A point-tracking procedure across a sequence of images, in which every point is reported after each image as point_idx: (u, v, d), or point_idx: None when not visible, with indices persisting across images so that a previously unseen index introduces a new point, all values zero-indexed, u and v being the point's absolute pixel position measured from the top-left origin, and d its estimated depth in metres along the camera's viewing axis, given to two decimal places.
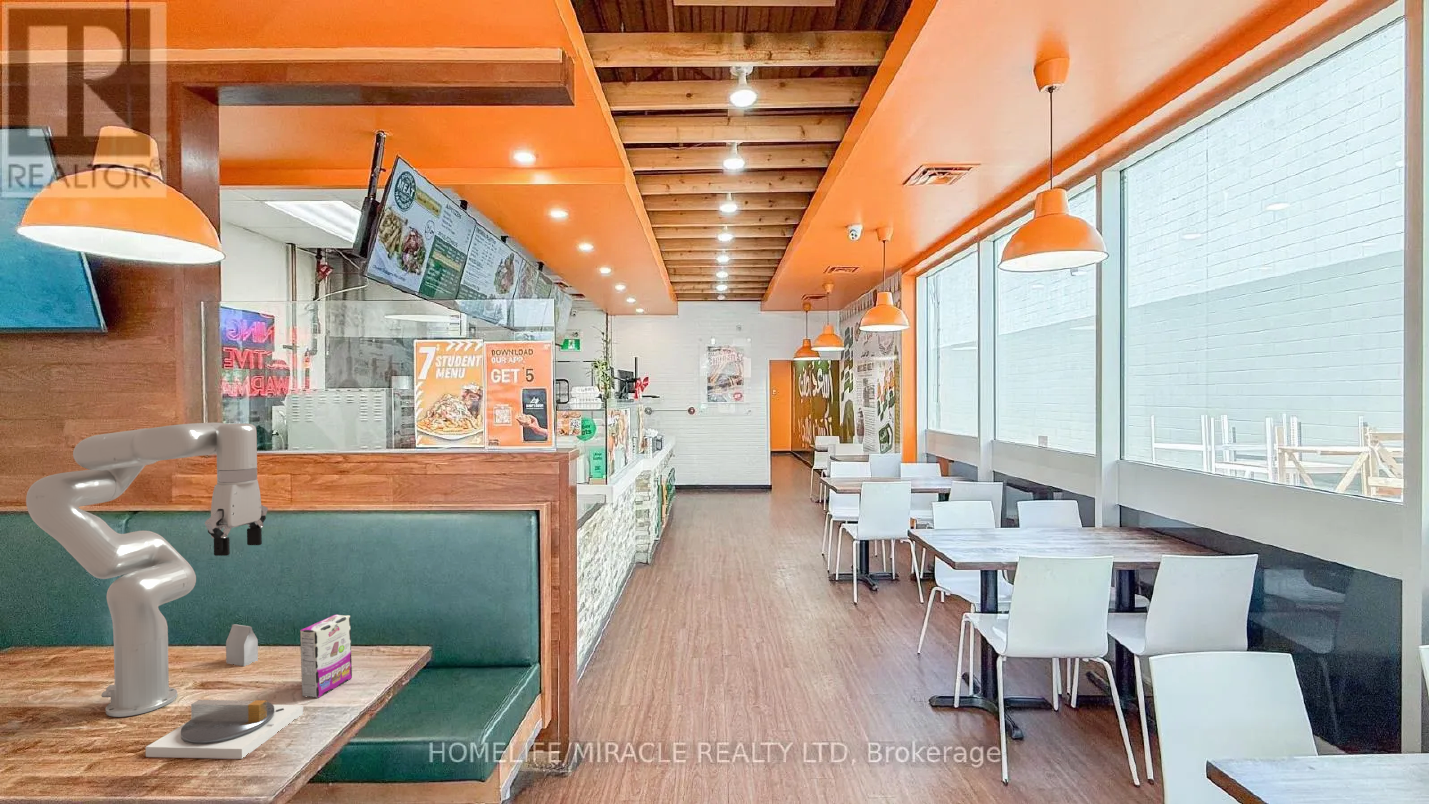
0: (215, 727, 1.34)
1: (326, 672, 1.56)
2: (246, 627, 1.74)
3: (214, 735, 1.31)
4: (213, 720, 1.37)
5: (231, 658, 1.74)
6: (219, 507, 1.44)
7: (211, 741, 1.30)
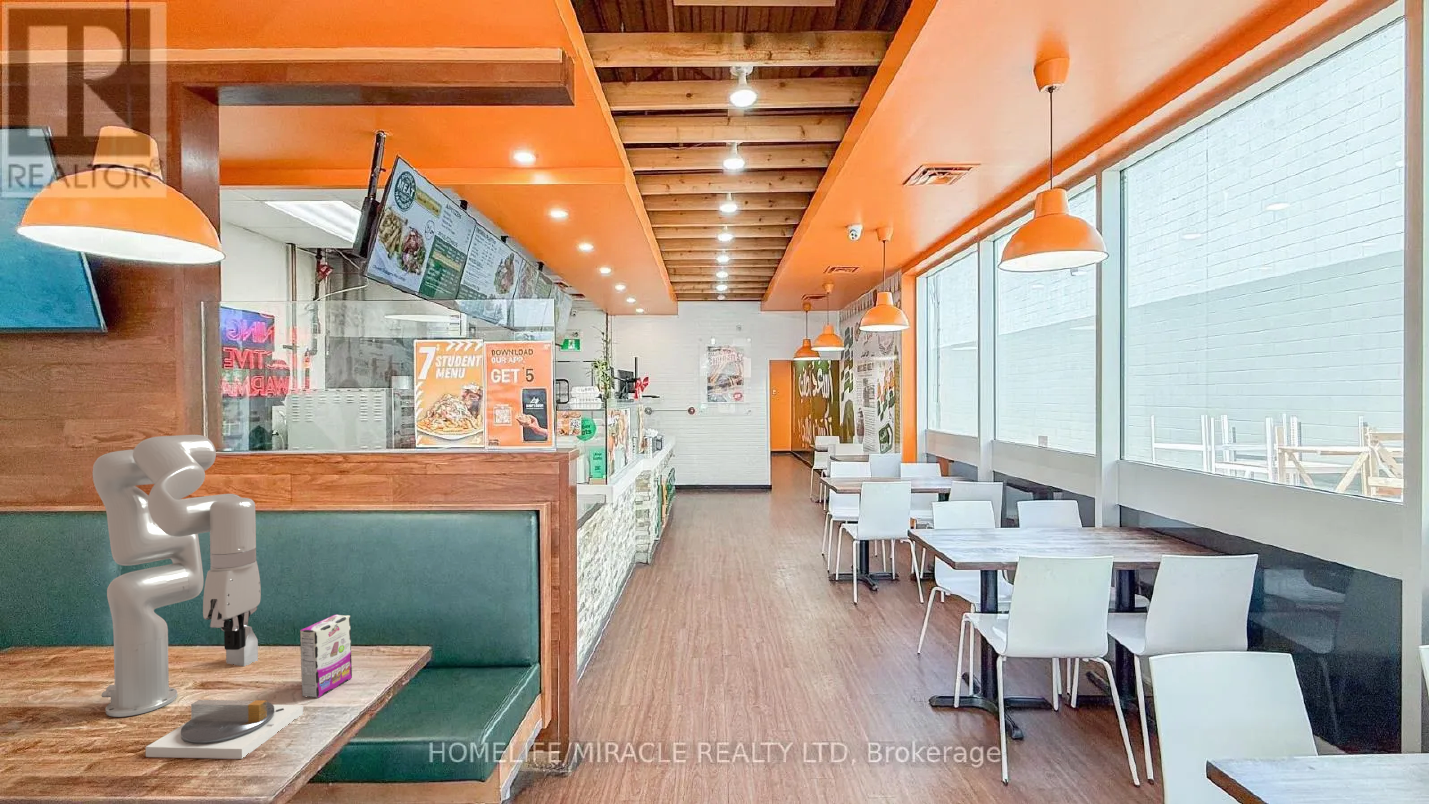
0: (215, 727, 1.34)
1: (326, 672, 1.56)
2: (246, 627, 1.74)
3: (214, 735, 1.31)
4: (213, 720, 1.37)
5: (231, 658, 1.74)
6: (213, 597, 1.27)
7: (211, 741, 1.30)
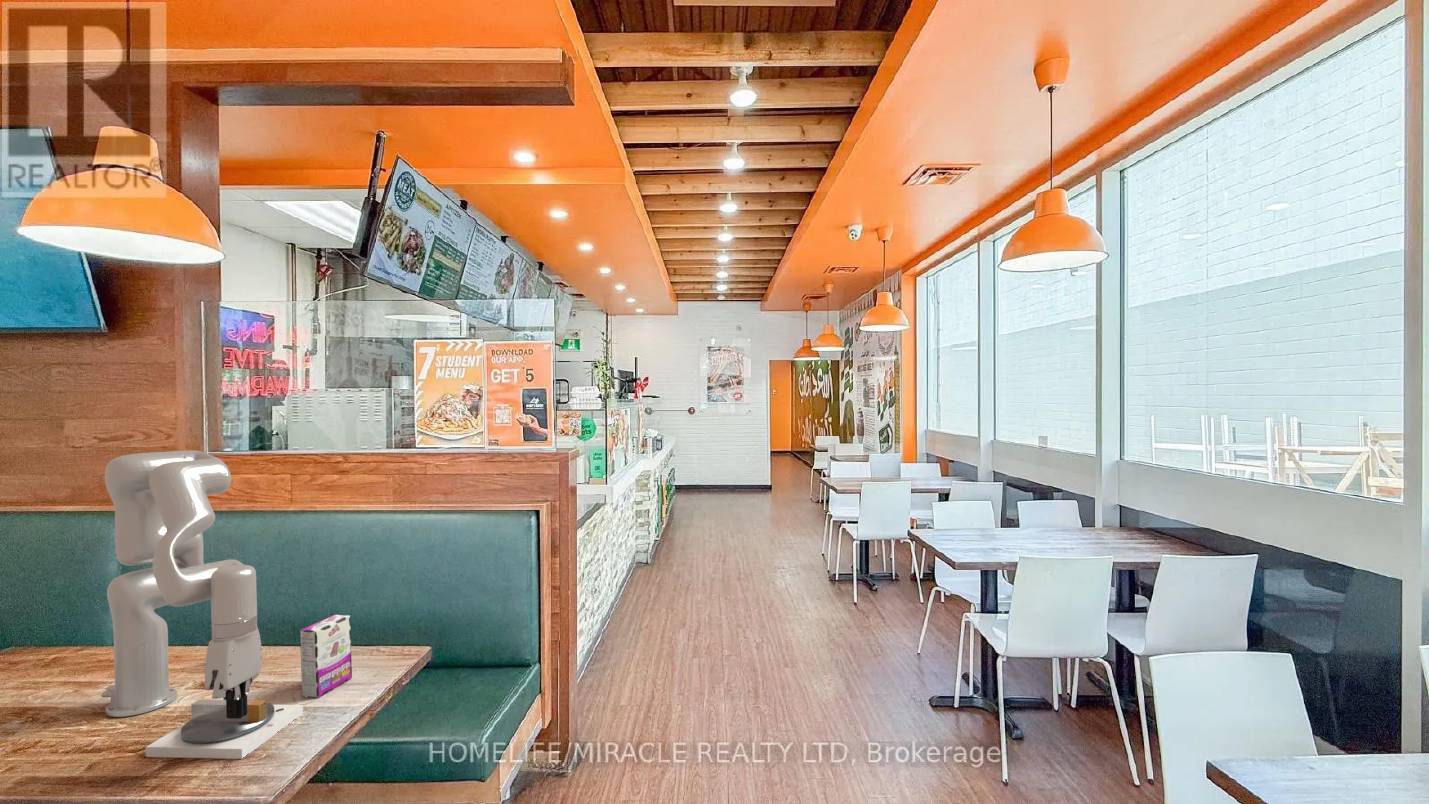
0: (215, 727, 1.34)
1: (326, 672, 1.56)
2: None
3: (214, 735, 1.31)
4: (213, 720, 1.37)
5: None
6: (214, 668, 1.27)
7: (211, 741, 1.30)
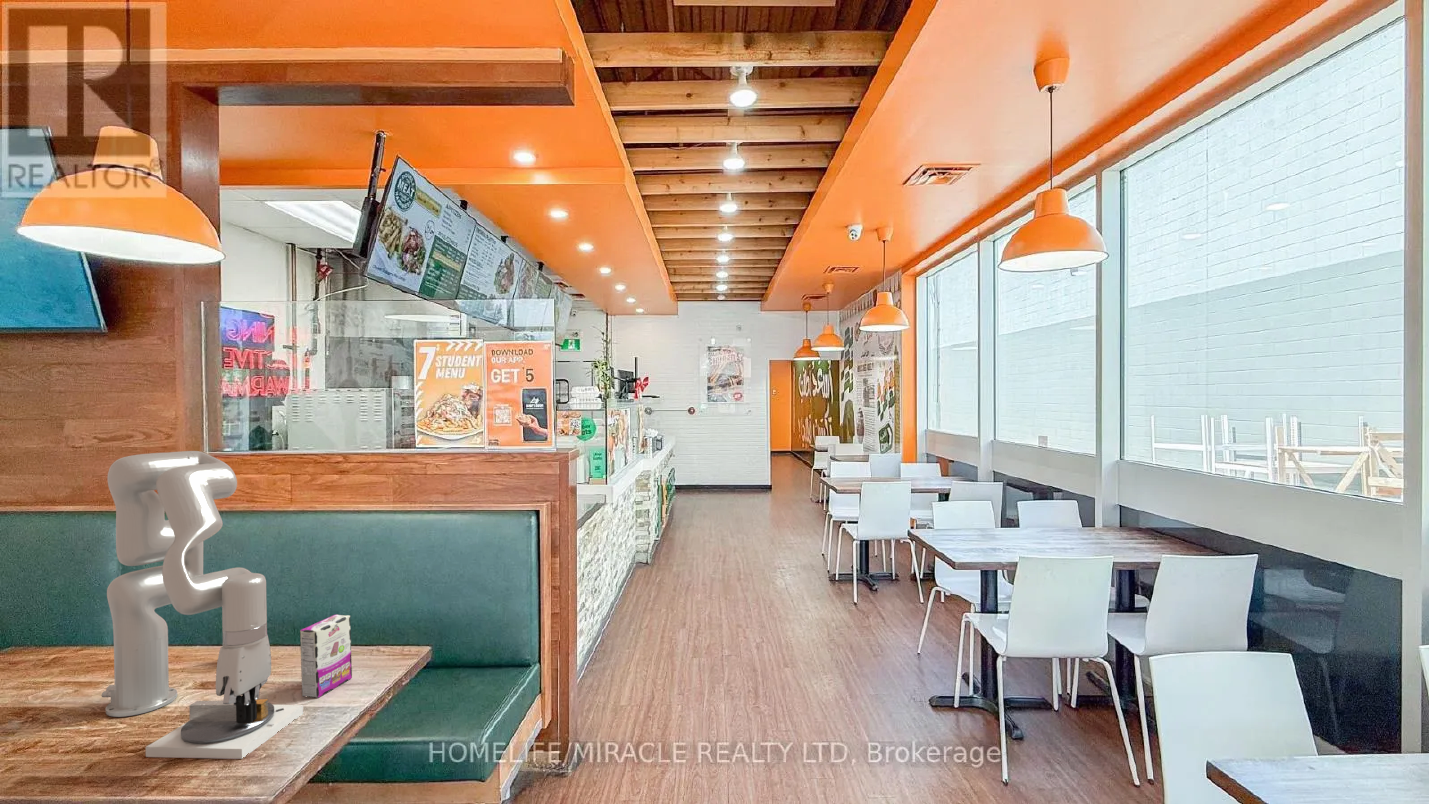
0: (216, 727, 1.34)
1: (326, 672, 1.56)
2: None
3: (217, 734, 1.31)
4: (213, 720, 1.37)
5: None
6: (225, 674, 1.30)
7: (214, 741, 1.30)
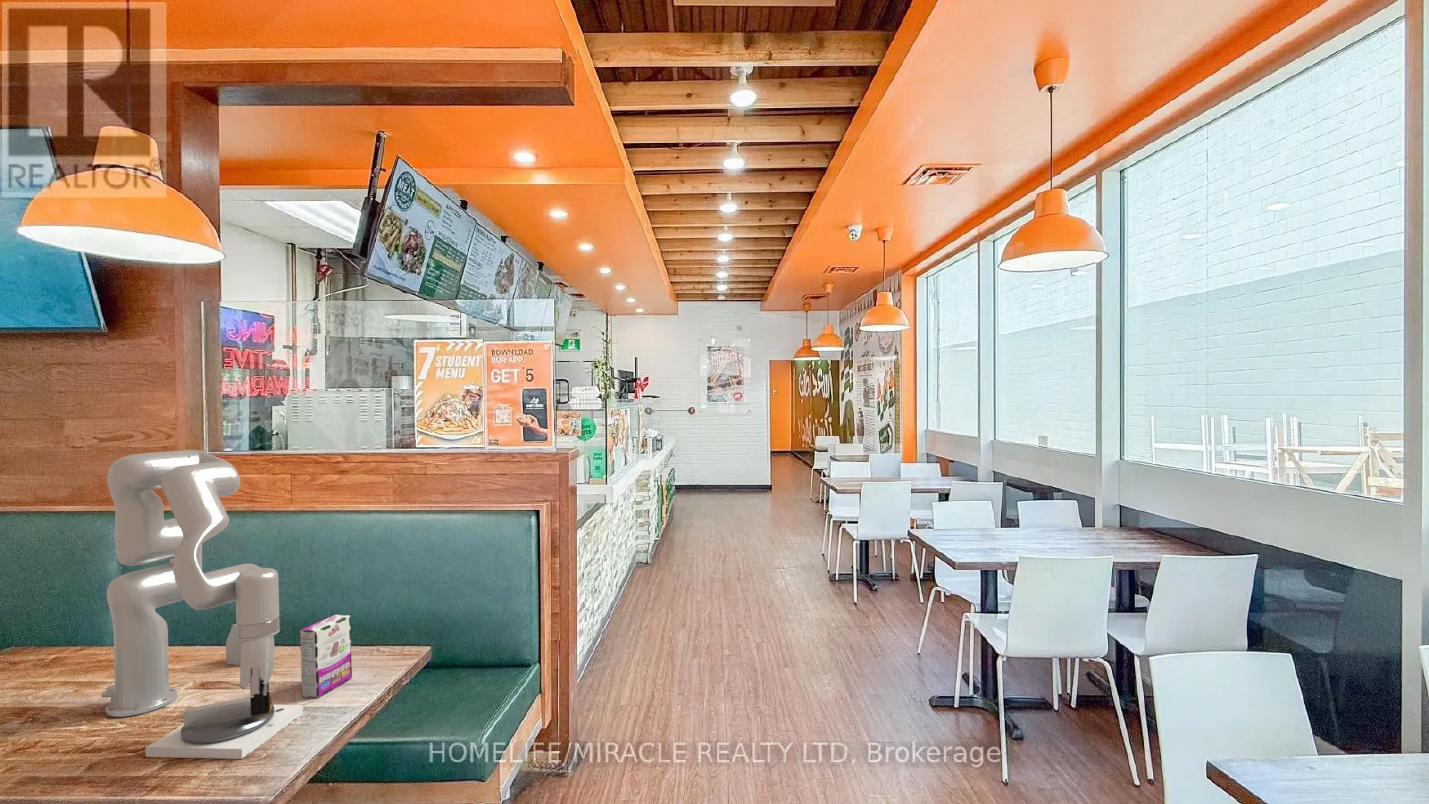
0: (225, 726, 1.35)
1: (326, 672, 1.56)
2: None
3: (235, 730, 1.33)
4: (212, 723, 1.36)
5: (231, 658, 1.74)
6: (253, 666, 1.33)
7: (236, 736, 1.32)
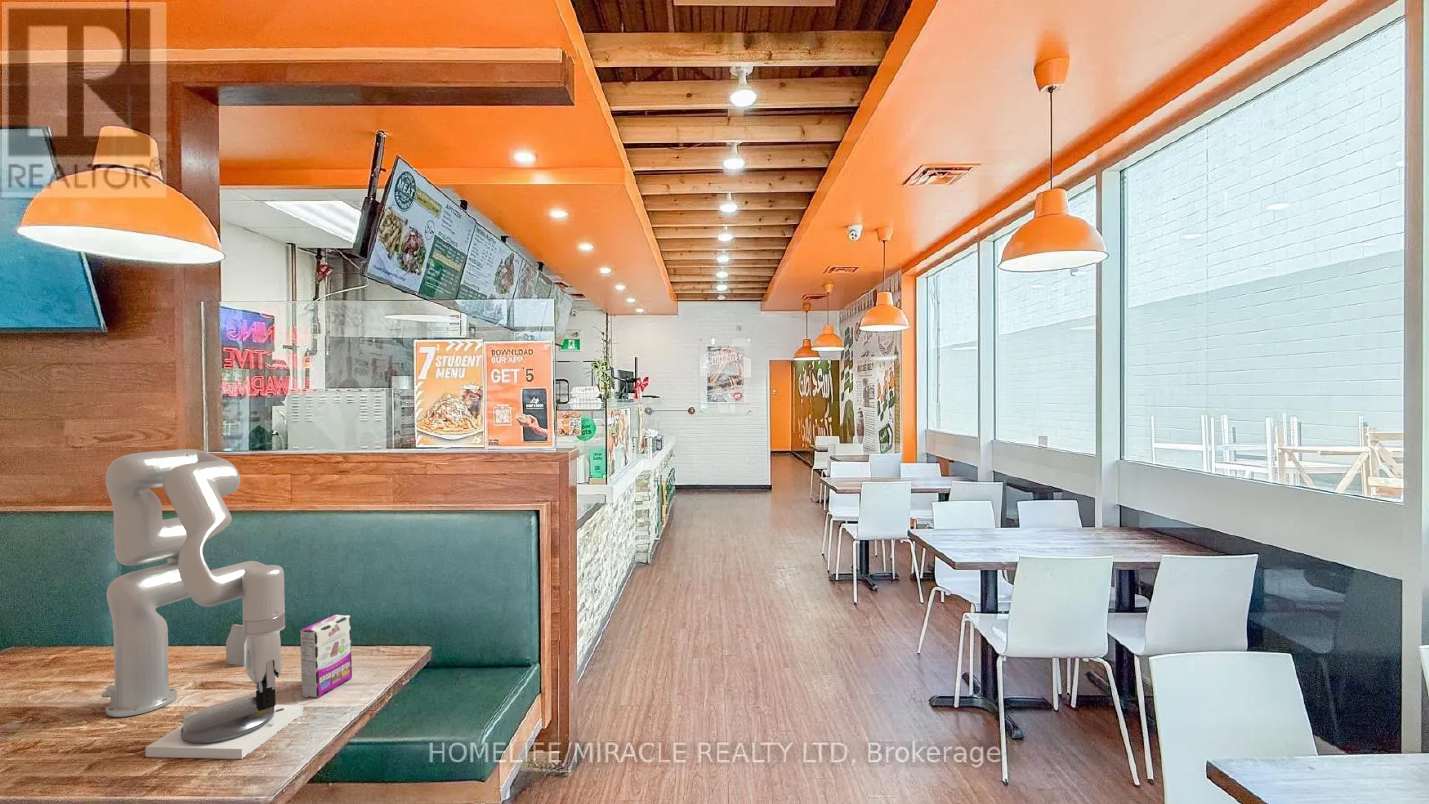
0: (233, 724, 1.35)
1: (326, 672, 1.56)
2: None
3: (249, 725, 1.35)
4: (215, 724, 1.35)
5: (231, 658, 1.74)
6: (269, 659, 1.36)
7: (252, 729, 1.35)
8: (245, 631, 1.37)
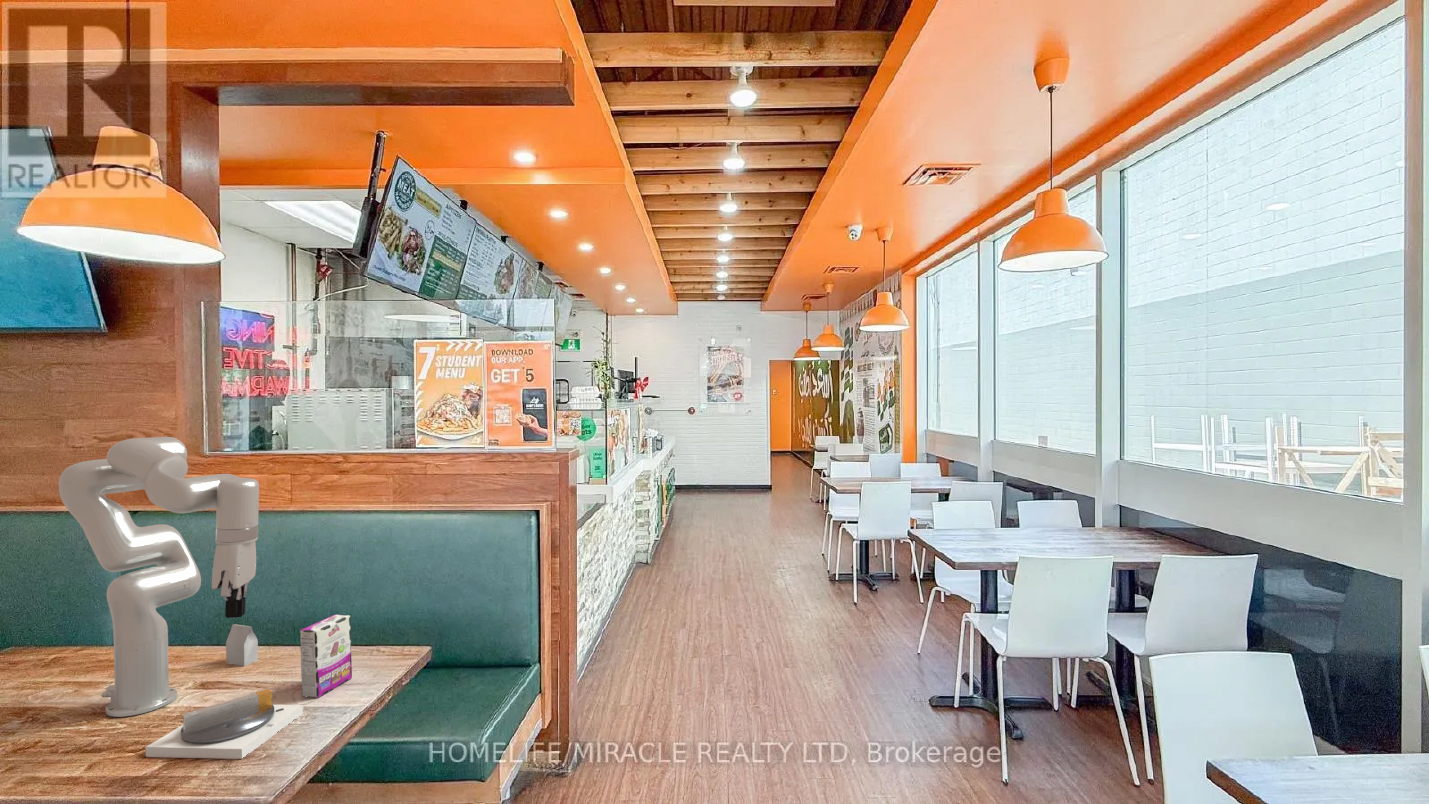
0: (233, 724, 1.35)
1: (326, 672, 1.56)
2: (246, 627, 1.74)
3: (249, 725, 1.35)
4: (215, 724, 1.35)
5: (231, 658, 1.74)
6: (224, 569, 1.37)
7: (252, 729, 1.35)
8: None
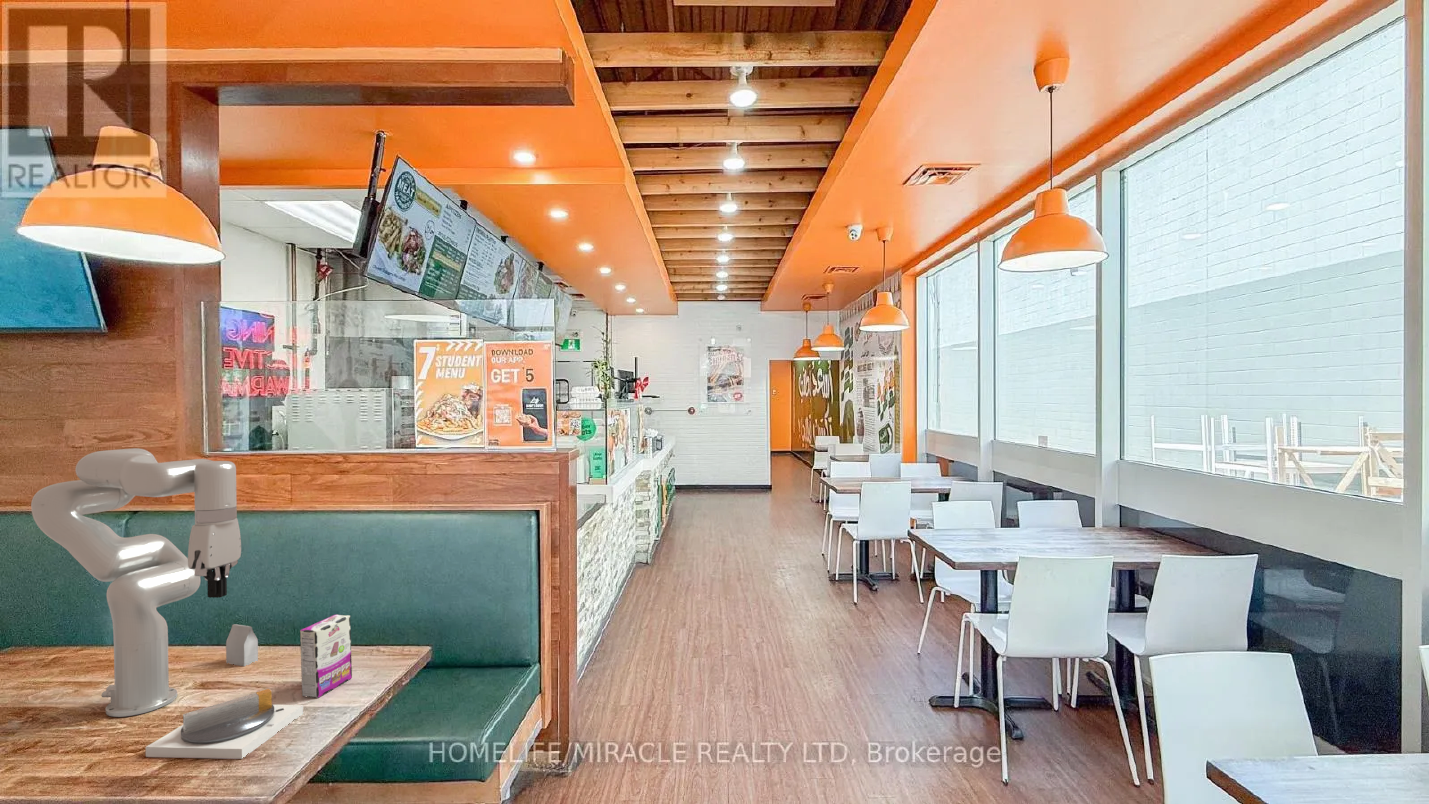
0: (233, 724, 1.35)
1: (326, 672, 1.56)
2: (246, 627, 1.74)
3: (249, 725, 1.35)
4: (215, 724, 1.35)
5: (231, 658, 1.74)
6: (196, 549, 1.41)
7: (252, 729, 1.35)
8: None
